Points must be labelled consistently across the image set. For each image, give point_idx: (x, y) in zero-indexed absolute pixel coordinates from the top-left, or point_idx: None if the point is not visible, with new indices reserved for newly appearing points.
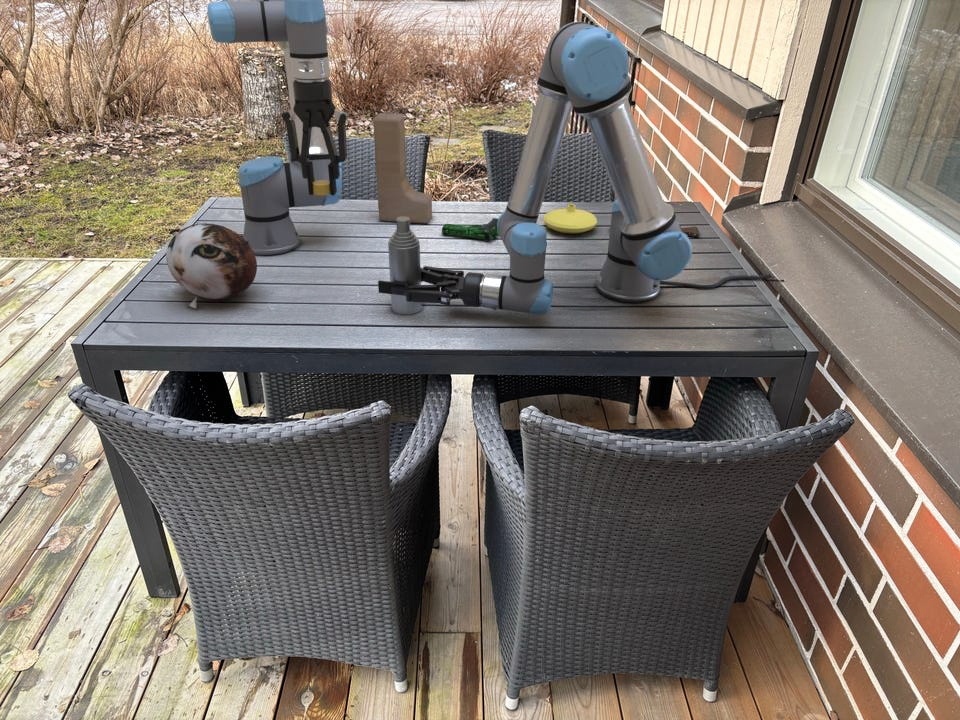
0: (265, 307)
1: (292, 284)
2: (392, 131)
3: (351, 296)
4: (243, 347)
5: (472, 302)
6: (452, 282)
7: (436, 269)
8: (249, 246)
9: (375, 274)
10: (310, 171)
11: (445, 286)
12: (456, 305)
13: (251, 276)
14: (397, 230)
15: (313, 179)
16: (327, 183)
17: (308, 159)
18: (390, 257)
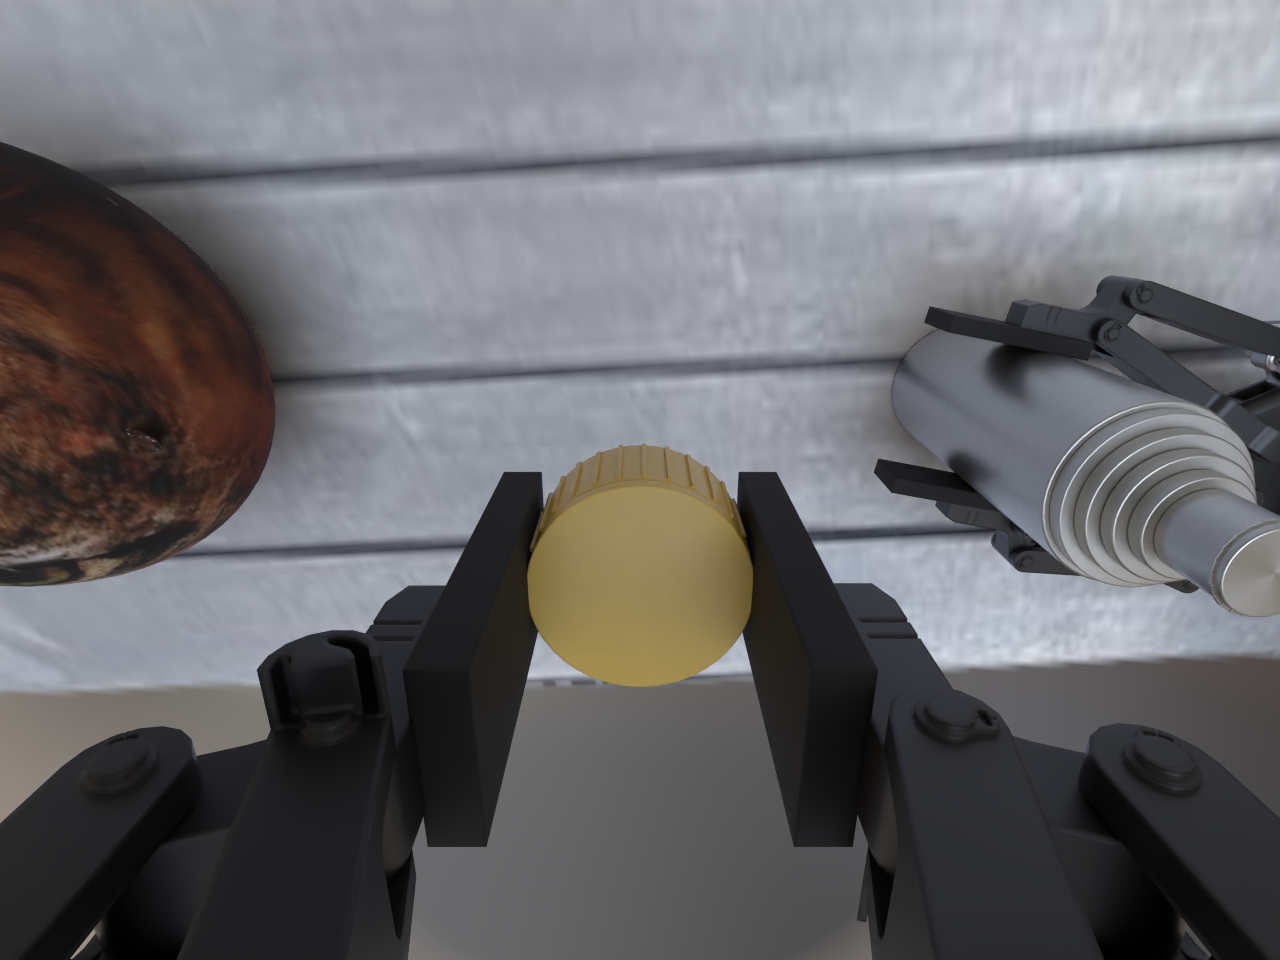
0: (381, 418)
1: (404, 174)
2: None
3: (710, 291)
4: None
5: None
6: None
7: (1196, 323)
8: (150, 365)
9: (798, 3)
10: (505, 744)
11: None
12: (1165, 351)
13: (271, 434)
14: (1163, 560)
15: (522, 568)
16: (713, 616)
17: (389, 704)
18: (1012, 517)
